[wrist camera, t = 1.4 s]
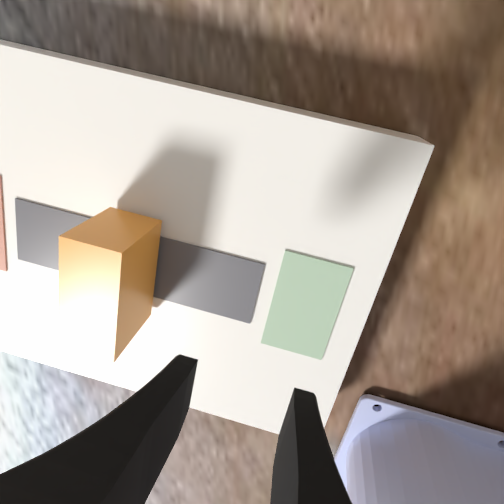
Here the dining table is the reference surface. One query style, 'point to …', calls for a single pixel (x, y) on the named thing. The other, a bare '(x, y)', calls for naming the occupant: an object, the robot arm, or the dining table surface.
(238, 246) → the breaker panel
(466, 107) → the dining table surface
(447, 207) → the dining table surface
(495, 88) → the dining table surface
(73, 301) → the handle
